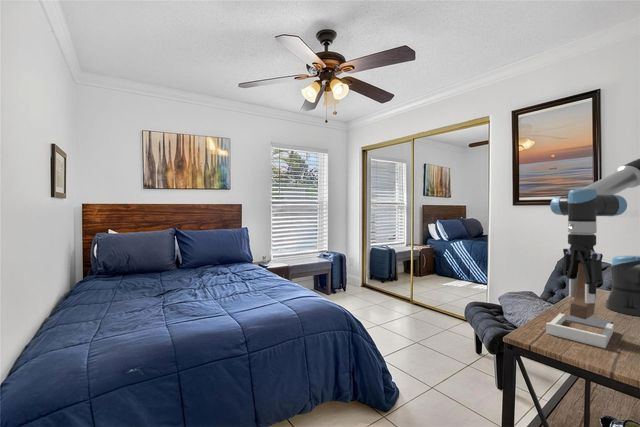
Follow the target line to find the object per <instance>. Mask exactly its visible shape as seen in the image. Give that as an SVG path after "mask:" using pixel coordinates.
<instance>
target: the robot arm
mask: <svg viewBox="0 0 640 427" xmlns="http://www.w3.org/2000/svg"><path fill="white" fill-rule="evenodd" d="M638 186H640V158H638V159H635V160H633V161H630V162H628V163H626V164H624V165H621V166H620V167H617V169H616V170H614V173H612V174H609V175H607V176H605V177H603V178H601V179H599V180H596V181H594V182H593V183H591V184H588V185H587V186H585V187H582V188H577V189H576V188H575V189H571V190H569V191H568V195H565V196H564V195H561V196H556V197H553V199H552V200H551V201H550V203H549V205H550V210H551V212H552V213H553V214H555V215H557V216H558V215H559V216H566V217H567V216H568V217H567V220H568V221H567V232H568V234H567V244H568V245H570V247H569V248H563V249H562V251H563V268H562V275H563V276H566V278H567V281H568V282H567V283H568V284H567V285H568V297H569V298H575V294H576V286H577V276H578V265H579V263H582V264H583V267H584V271H585V275H586V279H587V282H586V284H585V303H595V304H596V299H595V294H596V295H597V288H596V285H597V286H598V285H599V284H603V283H604V282H603V280H604V279H603V267H602V265H603V264H602V263H603V262H602V261H603V256H604V255H603V254H602V253H598V252H596V251H595V249H594V248H595V246H596V245H597V235H596V234H597V230H598V229H597V217H614V216H615V217H617V216H619V215H622V214H624V213H625V212H626V211H627V208H628V202H627V200H626V198H624V197H623V196H622V195H618V193H620V192H622V191H625V190H627V189H629V188H633V189H634V188H636V187H638ZM610 267H611V288H610V289H611V290H610V292H609V295H608V298H607V300H606V301H605V307H606V309H608V310H611V311H612V312H618V313H620V314H625V315H629V316H630V315H631V316H636V317H640V255H615V256H613V257H612V259H611V265H610Z"/></svg>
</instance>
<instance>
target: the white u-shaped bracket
mask: <svg viewBox="0 0 640 427" xmlns="http://www.w3.org/2000/svg"><path fill="white" fill-rule="evenodd" d="M565 316H566V315H565V313H561V312H560V313H558V314H557V315H556V316H555V317H554V318H553V319H552V320H551V321H550V322H546V324H545V334H547V335H552V336H554V337H559V338H563V339H566V340H571V341H574V342H579V343H582V344H586V345H591V346H594V347H599V348H601V349H606V348H607V346H608V344H609V341H610V340H611V337H612V335H613V333H614V329H615V328H614V327H615V326H614V323H611V324H610V323H607V325H606V327H605V329H603V330H602V333H601V334H600V333H595V332H592V331H587V330H584V329H579V328H574V327H569V326H565V325H562V324H563V323H564V322H565V319H566V317H565Z"/></svg>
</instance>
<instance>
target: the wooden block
mask: <svg viewBox="0 0 640 427" xmlns="http://www.w3.org/2000/svg"><path fill="white" fill-rule="evenodd" d="M576 279H577V286H576V294H575V297H573V300H572V301H571V302H570V305H569V315H571V316H574V317H578V318H581V319H587V318H589V317H593V315H594V314H595V308H596V302H595V303H585V284H586V282H587V279H586V275H585V271H584V267H583V264H582V263H579V265H578V273H577V278H576ZM597 286H598V284H597V285H596V289H597ZM596 295H597V293H596V294H595V300H596V298H597V296H596Z"/></svg>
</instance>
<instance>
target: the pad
mask: <svg viewBox="0 0 640 427" xmlns="http://www.w3.org/2000/svg"><path fill="white" fill-rule="evenodd" d="M565 321H566V322H570V323H576V324H580V325H584V326H589V327H592V328H593V327H594V328H598V329H601V330H604V329H605V327H606V325H607V323H610V324H613V323H612V322H613V321H612V320H608V319H603V318H598V317H593V316H590V317H589V318H587V319H581V318H578V317H574V316H571V315H570V314H569V315H567V317H565ZM565 321H564V322H565Z"/></svg>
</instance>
